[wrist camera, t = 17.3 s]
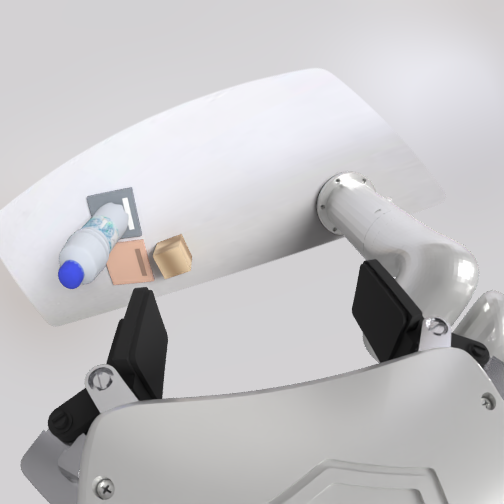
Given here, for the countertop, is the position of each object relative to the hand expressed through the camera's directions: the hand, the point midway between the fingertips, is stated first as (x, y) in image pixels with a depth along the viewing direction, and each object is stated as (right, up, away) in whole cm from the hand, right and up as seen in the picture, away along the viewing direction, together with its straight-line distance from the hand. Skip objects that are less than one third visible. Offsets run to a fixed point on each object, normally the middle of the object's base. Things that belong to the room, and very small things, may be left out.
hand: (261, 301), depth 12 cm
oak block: (-15, +3, +38) cm, 41 cm away
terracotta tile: (-25, 0, +38) cm, 45 cm away
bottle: (-25, +9, +33) cm, 42 cm away
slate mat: (-25, +9, +33) cm, 43 cm away
